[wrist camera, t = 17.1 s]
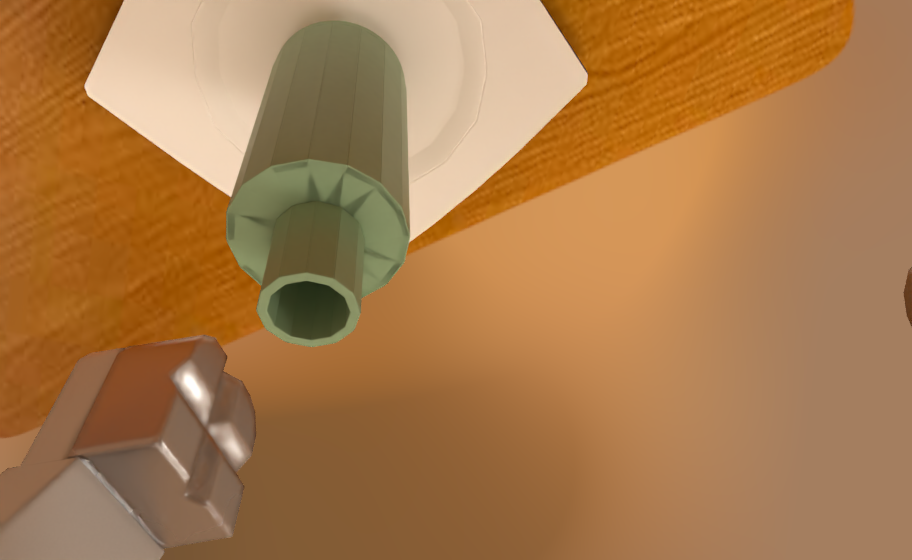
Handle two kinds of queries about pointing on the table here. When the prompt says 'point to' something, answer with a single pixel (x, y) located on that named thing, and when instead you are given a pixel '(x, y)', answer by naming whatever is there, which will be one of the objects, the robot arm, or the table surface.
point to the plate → (393, 19)
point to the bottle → (324, 183)
